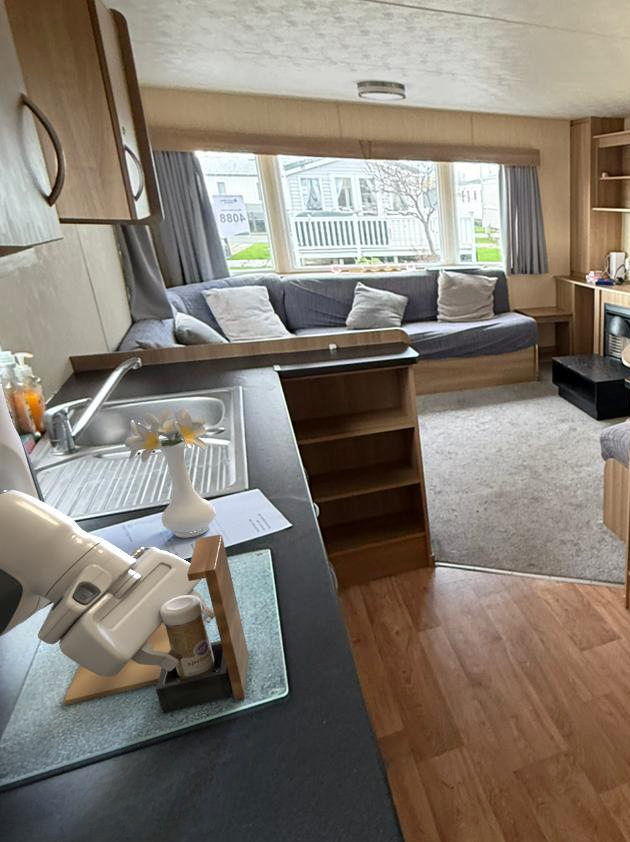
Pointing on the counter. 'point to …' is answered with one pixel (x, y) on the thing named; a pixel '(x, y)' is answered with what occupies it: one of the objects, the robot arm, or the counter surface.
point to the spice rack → (226, 652)
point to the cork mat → (118, 675)
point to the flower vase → (175, 468)
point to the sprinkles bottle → (188, 636)
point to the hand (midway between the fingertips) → (195, 641)
